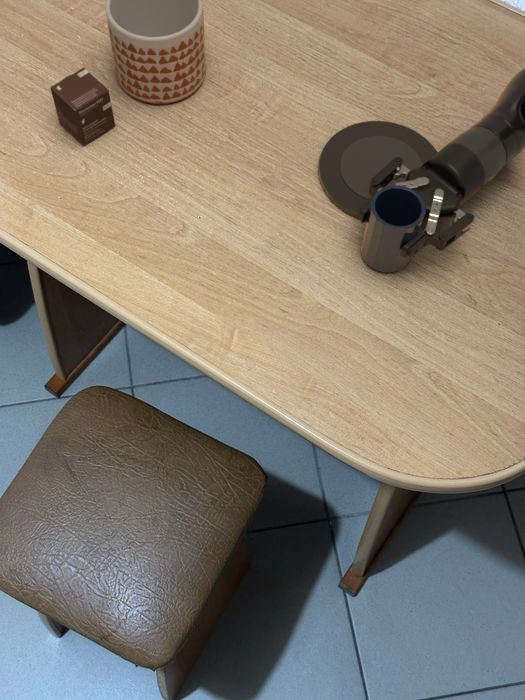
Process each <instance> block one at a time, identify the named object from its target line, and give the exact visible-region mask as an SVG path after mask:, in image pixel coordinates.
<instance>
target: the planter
mask: <svg viewBox="0 0 525 700" xmlns="http://www.w3.org/2000/svg"><path fill="white" fill-rule="evenodd" d="M104 7H105V9H104V10H105V16H106V23H107V28H108V34H109V35H108V36H109V41H110V47H111V52H112V53H111V54H112V59H113V64H114V70H115V76H116V80H117V82H118V84H119V86H120V87H121V89H122V90H123V91H124V92H125V93H126V94H127V95H129V96H130V97H132V98H134V99H135V100H137V101H140V102H143V103H147V104H150V105H151V104H152V105H170V104H173V103H177V102H181V101H183V100H185V99H187V98H189V97H190V96H192V95H193V94H194V93H196V92H197V90H198V89H199V88H200V87H201V86H202V84H203V82H204V80H205V76H206V69H207V66H206V65H207V64H206V44H205V43H206V42H205V16H204V12H205V11H204V1H203V0H105V4H104Z"/></svg>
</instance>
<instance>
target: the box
mask: <svg viewBox="0 0 525 700" xmlns="http://www.w3.org/2000/svg"><path fill="white" fill-rule="evenodd" d="M50 91H51V92H50V93H51V96H52V99H53V103H54V107H55V111H56V115H57V119H58V123H59V124H60V125H61V126H62V127H63V128H64V129H65V130H66V131H67V132H68V133H69V134H70V135H72V136H73V138H75V140H77V141H78V142H79V143H80V144H81V145H82V146H86V145H88V144H89V143H91V142H93V141H94V140H96V139H98V138H99V137H101V136H103V135H104V134H106V133H107V132H109V131H110V130H112V129H114V128H115V126H116V122H115V117H114V111H113V106H112V101H111V96H110V90H109V89H108V87H106V86H105V85H104V84H103V83H102V82H100V81H99V80H98V78H96V77H95V76H94V75H93V74H92V73H90V71H88V70H87V69H86V68H85V67H82V68H80V69H78V70H77V71H75V72H73V73H72V74H69V75H67V76H65V77H64V78H63V79H62V80H60V81H59V82H57V83H55V84H54V85H52V86H50Z"/></svg>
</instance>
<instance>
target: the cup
mask: <svg viewBox="0 0 525 700" xmlns="http://www.w3.org/2000/svg"><path fill="white" fill-rule="evenodd" d="M425 213H426V210H425V203H424V201H423V199H422V198H421V196H420V195H419V194H418V193H417V192H415V191H414V190H413V189H411V188H408V187H405V186H402V185H391V186H387V187H384V188H382V189H380V190H379V191H378V192H377V193H375V195H374V197H373V199H372V201H371V205H370V209H369V214H368V218H367V222H366V221H365V222H366V223H365V228H364V232H363V235H362V239H361V246H360V247H361V248H360V253H361V256H362V258H363V260H364V262H365V263H366V264H367V265H368V266H369V267H370V268H372V269H374V270H376V271H377V272H381V273H395V272H398V271H400V270H402V269H404V268H405V267H406V266H407V265H408V264H409V262H410V260H411V257H409V256H407V257H406V258H403V257H402V256H401V255H400V253H401V249H402V247H403V246H404V245H405V244H406V243H407V242H408V241H409V240H411V239H412V238H413V237H414V236H416V235H417V234H418V233H419V232H420V231H421V228H422V225H423V222H424V219H425V218H424V216H425Z"/></svg>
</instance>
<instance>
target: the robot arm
mask: <svg viewBox="0 0 525 700" xmlns="http://www.w3.org/2000/svg"><path fill="white" fill-rule="evenodd" d="M524 149H525V68H523V69H521V70H519V71H518V72H517V73H516V74H515V75H514V76H513V77H512V78H511V79H510V80H509V81H508V83H507V84H506V86H505V87H504V89H503V90H502V92H501V94H500V96H499V97H498V99H497V100H496V102H495V104H494V105H493V106H492V108H491V109H490V110H489V112H488V113H487V114H485V115H484V116H483V117H482V118H481V119H480V120H479V121H477V122H476V123H474V125H472V126H471V127H470V128H468V129H467V130H465V131H463V132H462V133H460V134H459V135H457V136H456V137H454V138H453V139H452V140H451V141H450V142H449V143H447V144H446V145H444V146H443V148H441V149H440V150H438V151H437V153H436V154H435V155H434V156H432V157H431V158H430V159H429V160H428V161H426V162H425V163H424V164H423V165H422V166H421V167H420V168H417V169H413V170H410V169H408V168H407V167H405V166H404V165H403V164H402V162H403V160H402V158H400V157H396V158H394V159H393V160H392V161H391V162H390V163H389V164H388V165H386V166H385V167H384V168H383V169H382V170H381V171H380V172H379V173H378V174H376V175H375V176H374V177H373V178H372V179H371V183H370V188H369V194H370V195H372V197H371V198H369V199H368V200H367V201H366V202H365V203H363V204H362V205H361V207H360V210H359V214H358V215H359V217H358V219H357V220H358V221H359V222H360V223H362V224H364V223H365V222H366V220H367V218H368V214H369V209H370V205H371V201H372V199H373V197H374V195H375V193H377V192H378V191H379V190H380V189H382V188H384V187H386V186H387V185H388V184H389V183H390V182H391V181H392V180H393V179H394V181H396V180H397V179H400V178H405V179H406V181H405V182H399V183H396V184H394V185H402V186H405V187H408V188H411V189H413V190H414V191H415V192H417V193H418V194H419V195H420V196H421V198H422V199H423V201H424V203H425V210H426V213H425V216H424V219H426V220H425V225H424V229H423V230H421V229H420V231H419V233H418V234H417V235H416V236H414V237H413V238H412V239H411V240H409V241H408V242H407V243H406V244H405V245H404V246H403V247H402V249H401V253H400V255H401V256H402V257H403V258H406V257H407V256H409V257H410V258H413V257H415V256H416V255H417V254H418V253H419V252H420V251H421V250H423V249H424V247H426V246H430V245H431V246H434V247H435V249H436V250H437V251H444V250H445V249H446V248H448V247H450V245H452V244H454V242H456V241H457V240H459V239H460V238H462V236H463V235H465V234H466V233H467V232H469V231H470V229H471V227H472V225H473V222H474V220H475V215H474V214H473V213H472V212H467V213H465V211H463V210H462V209H461V208H460V207H462V206H463V205H464V204H465V203H466V202H467V201H468V200H469V199H471V198H472V197H473V196H474V195H475V194H476V193H478V192H479V191H480V190H481V189H482V188H485V187H486V186H487V185H488V184H489V183H490V182H491V181H492V180H493V179H494V178H495V177H496V176H497V174H498V173H499V172H500V171H501V170H502V169H503V168H504V167H505V166H506V165H508V164H509V163H510V162H511V161H512V160H513V159H515V158H516V156H518V155H519V154H520V153H522V151H523V150H524ZM452 217H453V221H452V224H451V225H450V226H448V227H447V228H446V229H444V230H442V232H439V231H437V230H436V229H437V226H438V222H439V221H438V220H439V219H447V218H448V219H449V218H452Z"/></svg>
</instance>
